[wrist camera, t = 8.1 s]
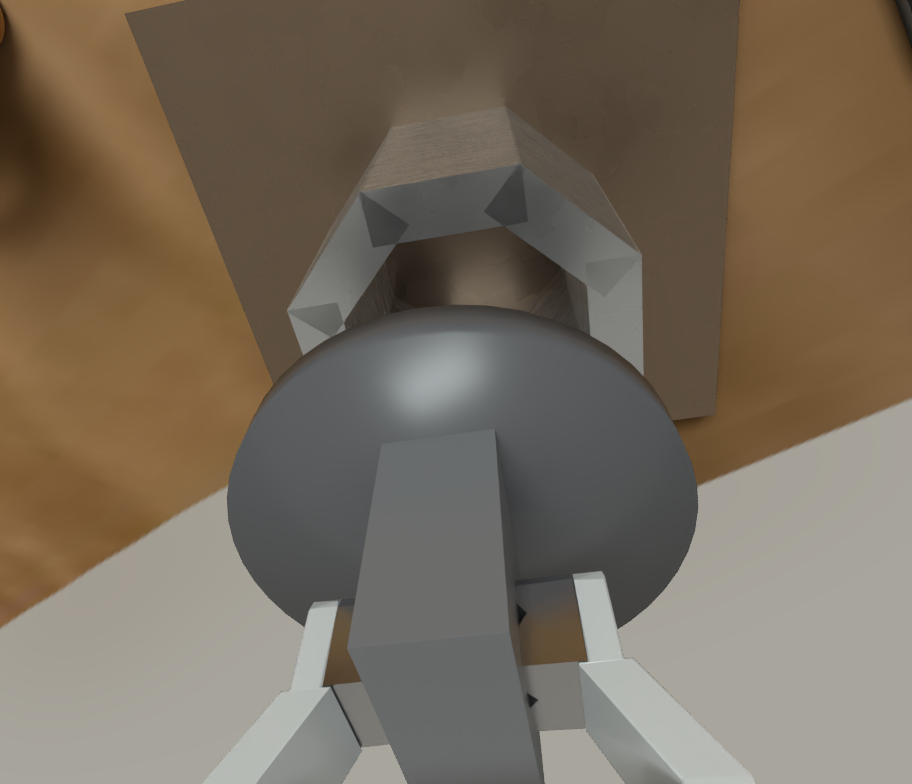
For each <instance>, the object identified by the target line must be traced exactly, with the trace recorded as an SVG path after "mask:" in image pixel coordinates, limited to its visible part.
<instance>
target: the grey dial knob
mask: <svg viewBox="0 0 912 784" xmlns="http://www.w3.org/2000/svg"><path fill="white" fill-rule="evenodd" d="M227 505H228V506H227V507H228V521H229V525H230V529H231V533H232V537H233V541H234V544H235V546H236V548H237V551H238V553H239V555H240V558H241V560H242V562H243V564H244V565H245V567H246V568H247V570H248V572H249V573H250V575H251V576H252V578H253V579H254V581H255V582H256V583H257V585H258V586H259V587H260V588H261V589H262V590H263V591H264V593H265V594H266V595H267V596H268V597H269V599H271V600H272V601H273V602H274V603H275V604H276V605H277V606H278V607H279V608H280V609H282V610H283V611H284V612H285V613H286V614H287V615H289V616H290V617H291V618H293V619H294V620H295V621H297V622H298V623H300V624H301V625H302V626H304V627H305V624H306V620H307V615H308V611H309V610H310V608H311V606H312V604H313V603H314V602H320V601H330V600H340V599H351V598H356V599H355V605H354V610H353V616H352V622H351V628H350V634H349V640H348V646H347V650H348V652H349V654H350V656H351V659H352V661H353V663H354V665H355V667H356V670H357V672H358V674H359V676H360V679H361V681H362V683H363V685H364V688H365V690H366V692H367V694H368V696H369V699H370V701H371V703H372V705H373V708H374V710H375V712H376V714H377V716H378V719H379V721H380V723H381V725H382V728H383V730H384V732H385V734H386V736H387V739H388V741H389V743H390V745H391V748H392V750H393V752H394V754H395V756H396V759H397V761H398V763H399V765H400V767H401V770H402V772H403V774H404V777H405V779H406V780H407V783H408V784H545V783H544V773H543V763H542V754H541V744H540V735H539V731H534V726H533V721H532V716H531V711H530V703H529V694H528V693H527V691H526V686H525V681H524V676H523V671H522V665H521V653H520V642H519V630H518V626H519V624H520V620H519V615H518V610H517V604H516V595H515V580H523V579H531V578H539V577H548V576H556V575H564V574H571V575H573V574H578V573H587V572H596V571H602V572H603V574H604V576H605V579H606V583H607V587H608V592H609V596H610V600H611V604H612V608H613V613H614V617H615V621H616V625H617V629H618V628H620V627H622V626H623V625H625V624H626V623H628V622H629V621H631V620H632V619H633V618H635V617H636V616H637V615H638V614H639V613H641V612H642V611H643V610H644V609H646V608H647V607H648V606H649V605H650V604H651V603H652V602H653V601H654V600H655V599H656V598H657V597H658V596H659V595H660V593H662V592H663V590H664V589H665V588H666V587H667V585H668V584H669V583H670V581H671V580H672V578H673V577H674V576H675V574H676V573H677V572H678V570H679V567H680V566H681V564H682V562H683V560H684V558H685V556H686V554H687V552H688V550H689V547H690V544H691V541H692V538H693V535H694V532H695V526H696V520H697V513H698V495H697V483H696V479H695V475H694V470H693V466H692V462H691V460H690V458H689V456H688V453H687V451H686V449H685V446H684V444H683V442H682V440H681V438H680V435H679V433H678V431H677V429H676V427H675V425H674V422H673V420H672V418H671V416H670V414H669V412H668V410H667V407H666V406H665V404H664V403H663V401H662V400H661V398H660V397H659V395H658V394H657V392H656V391H655V389H654V388H653V386H652V385H651V384H650V383H649V382H648V381H647V379H646V378H645V377H644V376H643V375H642V374H641V373H640V372H639V371H638V370H637V369H636V368H635V367H634V366H633V365H632V364H631V363H630V362H628V361H627V360H626V359H625V358H623V357H622V356H621V355H620V354H618V353H617V352H616V351H615V350H613V349H612V348H611V347H609V346H607V345H606V344H604V343H602V342H601V341H599V340H597V339H595V338H594V337H592V336H590V335H588V334H587V333H585V332H583V331H581V330H578V329H576V328H574V327H571V326H569V325H566V324H564V323H561V322H559V321H557V320H554V319H551V318H547V317H544V316H540V315H536V314H532V313H529V312H525V311H521V310H515V309H508V308H501V307H494V306H487V305H442V306H432V307H421V308H414V309H410V310H405V311H401V312H396V313H391V314H387V315H383V316H380V317H377V318H374V319H372V320H369V321H366V322H363V323H360V324H357V325H355V326H352V327H350V328H348V329H346V330H344V331H342V332H340V333H338V334H336V335H334V336H332V337H331V338H329V339H327V340H325V341H323V342H322V343H320V344H319V345H317V346H316V347H315V348H313V349H312V350H310V351H309V352H307V353H306V354H305V355H303V356H302V357H300V358H299V359H298V360H297V361H296V362H295V363H294V364H293V365H292V366H291V367H290V368H289V369H288V370H287V371H285V372H284V373H283V374H282V375H281V376H280V377H279V379H278V380H277V381H276V383H275V384H274V385H273V386H272V388H271V389H270V390H269V392H268V393H267V394H266V396H265V397H264V398H263V400H262V402H261V404H260V406H259V408H258V410H257V412H256V414H255V415H254V417H253V419H252V421H251V424H250V426H249V428H248V430H247V432H246V434H245V436H244V439H243V441H242V443H241V445H240V447H239V449H238V452H237V454H236V457H235V461H234V464H233V467H232V470H231V473H230V477H229V486H228V494H227Z"/></svg>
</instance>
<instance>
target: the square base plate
mask: <svg viewBox="0 0 912 784" xmlns="http://www.w3.org/2000/svg"><path fill="white" fill-rule="evenodd" d="M739 6H740V0H185V1H181V2H176V3H171V4H167V5H162V6H158V7H153V8H149V9H144V10H140V11H135V12H130V13H126V14H125V16H126V18H127V21H128V23H129V26H130V28H131V31H132V33H133V36H134V38H135V41H136V43H137V46H138V48H139V51H140V53H141V56H142V58H143V61H144V63H145V66H146V68H147V71H148V73H149V76H150V78H151V81H152V83H153V85H154V88H155V90H156V93H157V95H158V98H159V100H160V103H161V105H162V108H163V110H164V113H165V115H166V118H167V120H168V123H169V125H170V128H171V130H172V133H173V135H174V138H175V140H176V143H177V145H178V148H179V150H180V153H181V155H182V158H183V160H184V163H185V165H186V167H187V170H188V172H189V175H190V177H191V180H192V182H193V185H194V187H195V190H196V192H197V195H198V197H199V200H200V202H201V205H202V207H203V210H204V212H205V215H206V217H207V220H208V222H209V225H210V227H211V230H212V232H213V235H214V237H215V240H216V242H217V245H218V247H219V249H220V252H221V254H222V257H223V259H224V262H225V264H226V267H227V269H228V272H229V274H230V277H231V279H232V282H233V284H234V287H235V289H236V292H237V294H238V297H239V299H240V302H241V304H242V307H243V309H244V312H245V314H246V317H247V319H248V322H249V324H250V326H251V329H252V331H253V334H254V336H255V339H256V341H257V344H258V346H259V349H260V351H261V354H262V356H263V359H264V361H265V364H266V366H267V369H268V371H269V374H270V376H271V379H272V381H273V384H275V383H276V381H277V380H278V379H279V377H280V376H281V375H282V374H283V373H284V372H285V371H287V370H288V369H289V368H290V367H291V366H292V365H293V364H294V363H295V362H296V361H297V360H298V359H299V358H300V357H302V356H303V355H305V354H306V353H307V352H309V351H310V350H312V349H313V348H315V347H316V346H317V345H319V344H320V343H322V342H323V341H325V340H327V339H329V338H331V337H332V336H334V335H336V334H338V333H340V332H342V331H344V330H346V329H348V328H350V327H352V326H355V325H357V324H360V323H363V322H366V321H369V320H372V319H374V318H377V317H380V316H383V315H387V314H391V313H396V312H401V311H405V310H410V309H414V308H421V307H432V306H442V305H487V306H494V307H501V308H508V309H515V310H521V311H525V312H529V313H532V314H536V315H540V316H544V317H547V318H551V319H554V320H557V321H559V322H561V323H564V324H566V325H569V326H571V327H574V328H576V329H578V330H581V331H583V332H585V333H587V334H588V335H590V336H592V337H594V338H595V339H597V340H599V341H601V342H602V343H604V344H606V345H607V346H609V347H611V348H612V349H613V350H615V351H616V352H617V353H618V354H620V355H621V356H622V357H623V358H625V359H626V360H627V361H628V362H630V363H631V364H632V365H633V366H634V367H635V368H636V369H637V370H638V371H639V372H640V373H641V374H642V375H643V376H644V377H645V378H646V379H647V381H648V382H649V383H650V384H651V385H652V386H653V388H654V389H655V391H656V392H657V394H658V395H659V397H660V398H661V400H662V401H663V403H664V404H665V406H666V407H667V410H668V412H669V414H670V416H671V418H672V420H680V419H688V418H695V417H703V416H711V415H715V407H716V390H717V374H718V357H719V340H720V324H721V307H722V290H723V273H724V257H725V240H726V223H727V206H728V190H729V173H730V156H731V140H732V123H733V106H734V89H735V73H736V56H737V39H738V22H739Z"/></svg>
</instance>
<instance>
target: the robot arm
mask: <svg viewBox="0 0 912 784" xmlns="http://www.w3.org/2000/svg"><path fill="white" fill-rule="evenodd" d="M515 595H516V604H517V610H518V615H519V620H520V624H519V626H518V630H519V642H520V653H521V665H522V671H523V676H524V681H525V686H526V691H527V693H528V694H529V703H530V711H531V716H532V721H533V726H534V731H547V730H565V729H583V728H586V731H587V732H588V734H589V735H590V737H591V738H592V739H593V740H594V742H595V743H596V745H597V746H598V747H599V749H600V750H601V751H602V753H603V754H604V755H605V757H606V758H607V760H608V761H609V762H610V763H611V765H612V766H613V768H614V769H615V770H616V772H617V773H618V774H619V776H620V777H621V778H622V780H623V781H624V782H625V783H626V784H755V782H754V779H753V776H752V775H751V774H750V773H749V772H748V771H747V770H746V769H745V768H744V767H743V766H742V765H741V764H740V763H739V762H738V761H737V760H736V759H735V758H734V757H733V756H732V755H731V754H730V753H729V752H728V751H727V750H726V749H725V748H724V747H723V746H722V745H721V744H720V743H719V742H718V741H717V740H716V739H715V738H714V737H713V736H712V735H711V734H710V733H709V732H708V731H707V730H706V729H705V728H704V727H703V726H702V725H701V724H700V723H699V722H698V721H697V720H696V719H695V718H694V717H692V715H691V714H690V713H688V711H687V710H686V709H685V708H683V706H682V705H681V704H680V703H679V702H678V701H677V700H676V699H675V698H674V697H673V696H672V695H671V694H669V693H668V691H667V690H666V689H665V688H664V687H663V686H661V684H660V683H658V681H656V680H655V679H654V678H653V677H652V676H651V675H650V674H649V673H648V672H647V671H646V670H645V669H644V668H643V667H642V666H641V665H640V664H639V663H638V662H637V661H636V660H635V659H634V658H624V655H623V650H622V646H621V642H620V638H619V634H618V629H617V625H616V621H615V617H614V613H613V608H612V604H611V600H610V596H609V592H608V587H607V583H606V579H605V576H604V574H603V572H602V571H596V572H587V573H578V574H573V575H571V574H564V575H556V576H548V577H539V578H531V579H523V580H515ZM355 599H356V598H351V599H340V600H330V601H320V602H314V603H313V604H312V606H311V608H310V610H309V611H308V615H307V620H306V624H305V628H304V632H303V636H302V641H301V644H300V649H299V653H298V657H297V662H296V665H295V669H294V674H293V678H292V682H291V686H290V690H288V691H281V692H280V693H279V694H278V696H277V697H276V698H275V699H274V700H273V701H272V703H271V704H270V705H269V706H268V707H267V709H266V710H265V711H264V712H263V713H262V714H261V715H260V717H259V718H258V719H257V720H256V721H255V723H254V724H253V725H252V726H251V727H250V728H249V729H248V731H247V732H246V733H245V734H244V735H243V736H242V738H241V739H240V740H239V741H238V742H237V744H236V745H235V746H234V747H233V748H232V749H231V750H230V752H229V753H228V754H227V755H226V756H225V757H224V759H223V760H222V761H221V762H220V763H219V764H218V766H217V767H216V768H215V769H214V770H213V771H212V773H211V774H210V775H209V776H208V777H207V778H206V780H205V781H204V782H203V783H202V784H342V783H343V781H344V780H345V778H346V776H347V775H348V773H349V771H350V770H351V768H352V766H353V765H354V763H355V761H356V760H357V758H358V756H359V754H360V753H361V751H362V750H361V747H369V746H377V745H386V744H390V743H389V741H388V739H387V736H386V734H385V732H384V730H383V728H382V725H381V723H380V721H379V719H378V716H377V714H376V712H375V710H374V708H373V705H372V703H371V701H370V699H369V696H368V694H367V692H366V690H365V688H364V685H363V683H362V681H361V679H360V676H359V674H358V672H357V670H356V667H355V665H354V663H353V661H352V659H351V656H350V654H349V652H348V650H347V646H348V640H349V634H350V628H351V622H352V616H353V610H354V605H355Z"/></svg>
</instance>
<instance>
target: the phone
mask: <svg viewBox="0 0 912 784" xmlns="http://www.w3.org/2000/svg"><path fill="white" fill-rule="evenodd" d="M895 2H896V4H897V7H898V10H899V13H900V16H901V18H902V21H903V24H904V27H905V30H906V33H907V35H908V38H909V41H910V44H911V47H912V0H895Z"/></svg>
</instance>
